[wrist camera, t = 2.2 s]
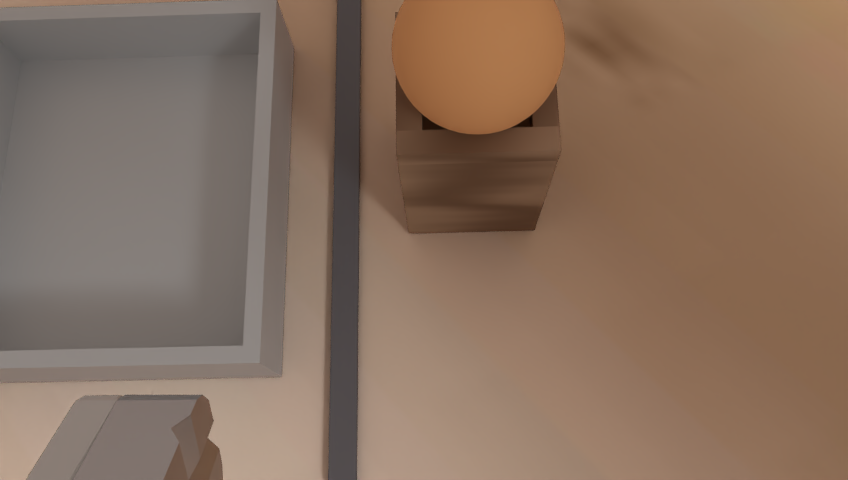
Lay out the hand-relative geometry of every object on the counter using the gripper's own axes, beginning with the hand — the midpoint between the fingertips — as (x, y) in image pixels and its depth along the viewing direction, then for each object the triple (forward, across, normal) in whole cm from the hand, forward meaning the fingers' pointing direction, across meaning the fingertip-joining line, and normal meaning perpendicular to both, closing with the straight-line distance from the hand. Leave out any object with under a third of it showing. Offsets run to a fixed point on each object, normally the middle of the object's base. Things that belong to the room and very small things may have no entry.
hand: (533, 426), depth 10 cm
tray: (+21, +13, +6) cm, 26 cm away
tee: (+22, 0, +6) cm, 23 cm away
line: (+21, +5, +6) cm, 23 cm away
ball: (+15, 0, -1) cm, 15 cm away
